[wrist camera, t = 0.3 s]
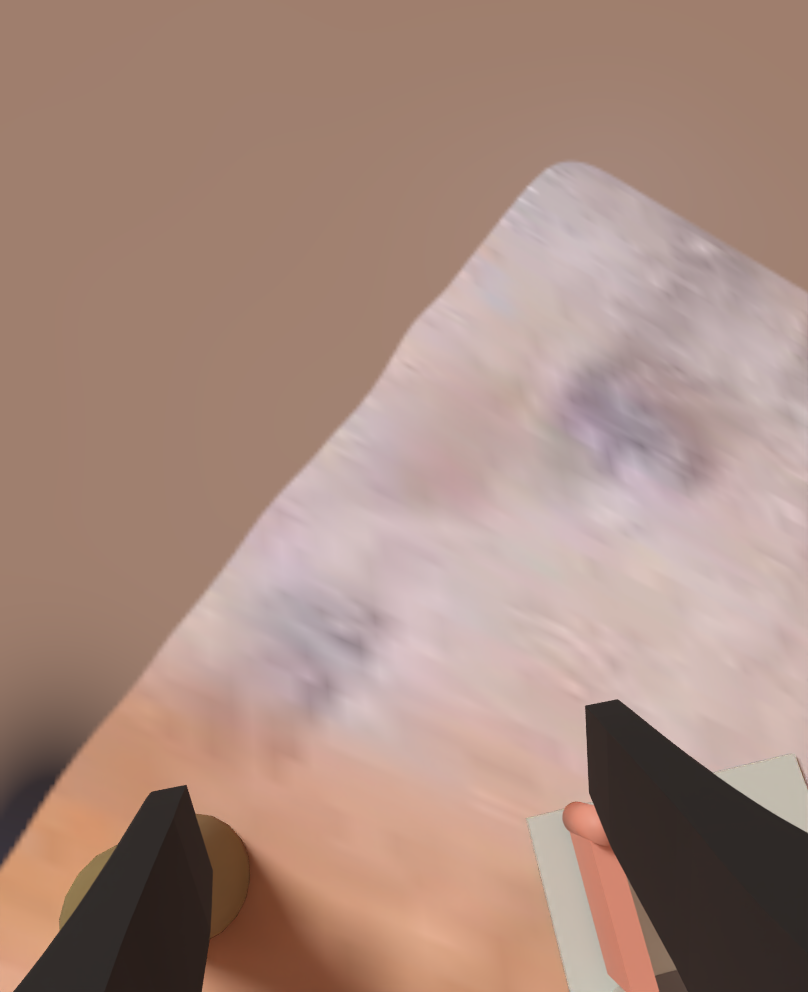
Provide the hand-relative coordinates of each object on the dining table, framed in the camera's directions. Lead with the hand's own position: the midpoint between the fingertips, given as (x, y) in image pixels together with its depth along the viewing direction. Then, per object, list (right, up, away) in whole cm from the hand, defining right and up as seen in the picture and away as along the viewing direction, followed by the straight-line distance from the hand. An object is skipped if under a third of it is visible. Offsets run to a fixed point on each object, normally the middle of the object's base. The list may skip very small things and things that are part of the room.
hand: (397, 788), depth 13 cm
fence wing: (+10, -14, +24) cm, 30 cm away
